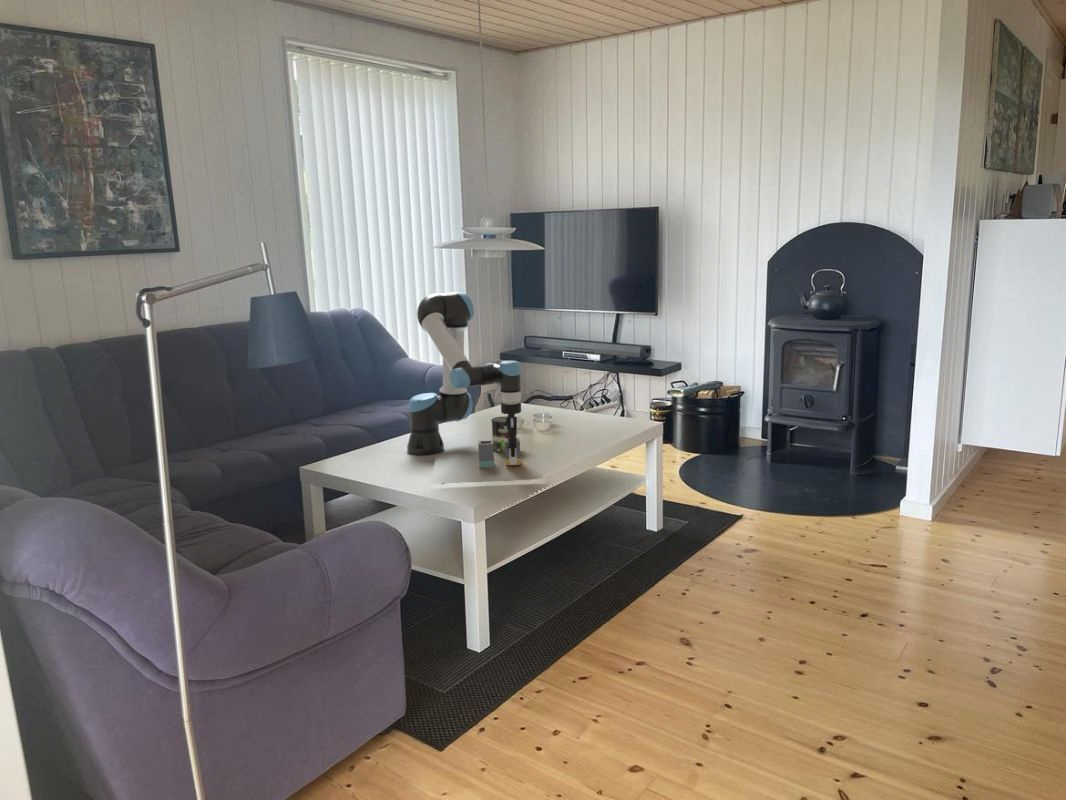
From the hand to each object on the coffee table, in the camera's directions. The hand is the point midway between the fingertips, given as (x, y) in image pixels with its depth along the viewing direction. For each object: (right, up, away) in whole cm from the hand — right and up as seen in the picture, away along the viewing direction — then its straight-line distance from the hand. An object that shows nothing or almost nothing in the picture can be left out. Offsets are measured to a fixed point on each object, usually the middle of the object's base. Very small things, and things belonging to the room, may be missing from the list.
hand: (512, 462), depth 309 cm
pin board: (-5, -2, 0) cm, 6 cm away
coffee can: (-4, +2, +23) cm, 24 cm away
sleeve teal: (-10, -1, 0) cm, 10 cm away
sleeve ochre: (0, 0, 0) cm, 0 cm away
